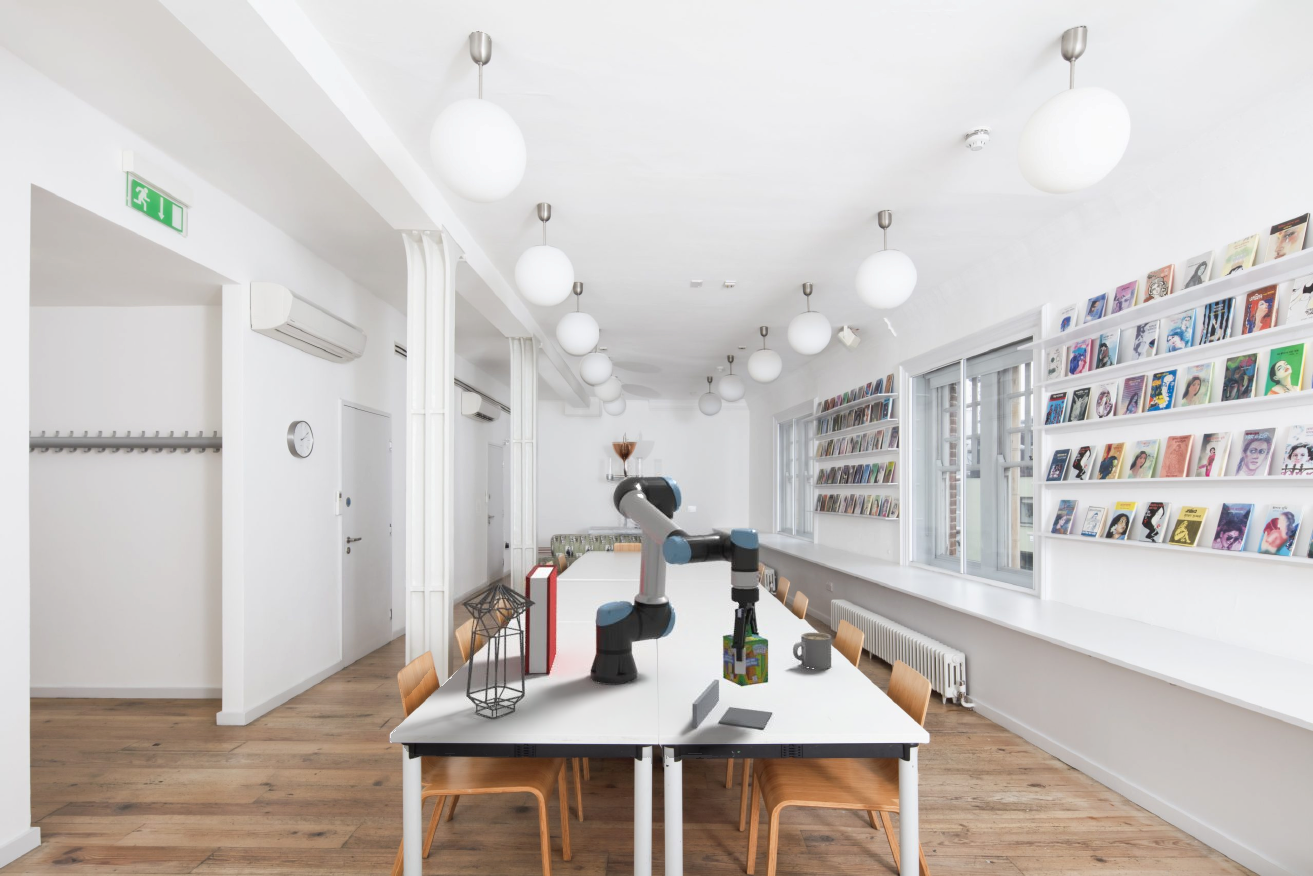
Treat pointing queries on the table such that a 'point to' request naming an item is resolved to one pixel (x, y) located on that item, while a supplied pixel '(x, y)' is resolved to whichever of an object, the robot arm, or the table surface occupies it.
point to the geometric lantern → (504, 591)
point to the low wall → (705, 703)
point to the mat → (745, 718)
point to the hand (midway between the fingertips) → (745, 667)
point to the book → (541, 619)
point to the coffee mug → (814, 650)
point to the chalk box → (747, 660)
